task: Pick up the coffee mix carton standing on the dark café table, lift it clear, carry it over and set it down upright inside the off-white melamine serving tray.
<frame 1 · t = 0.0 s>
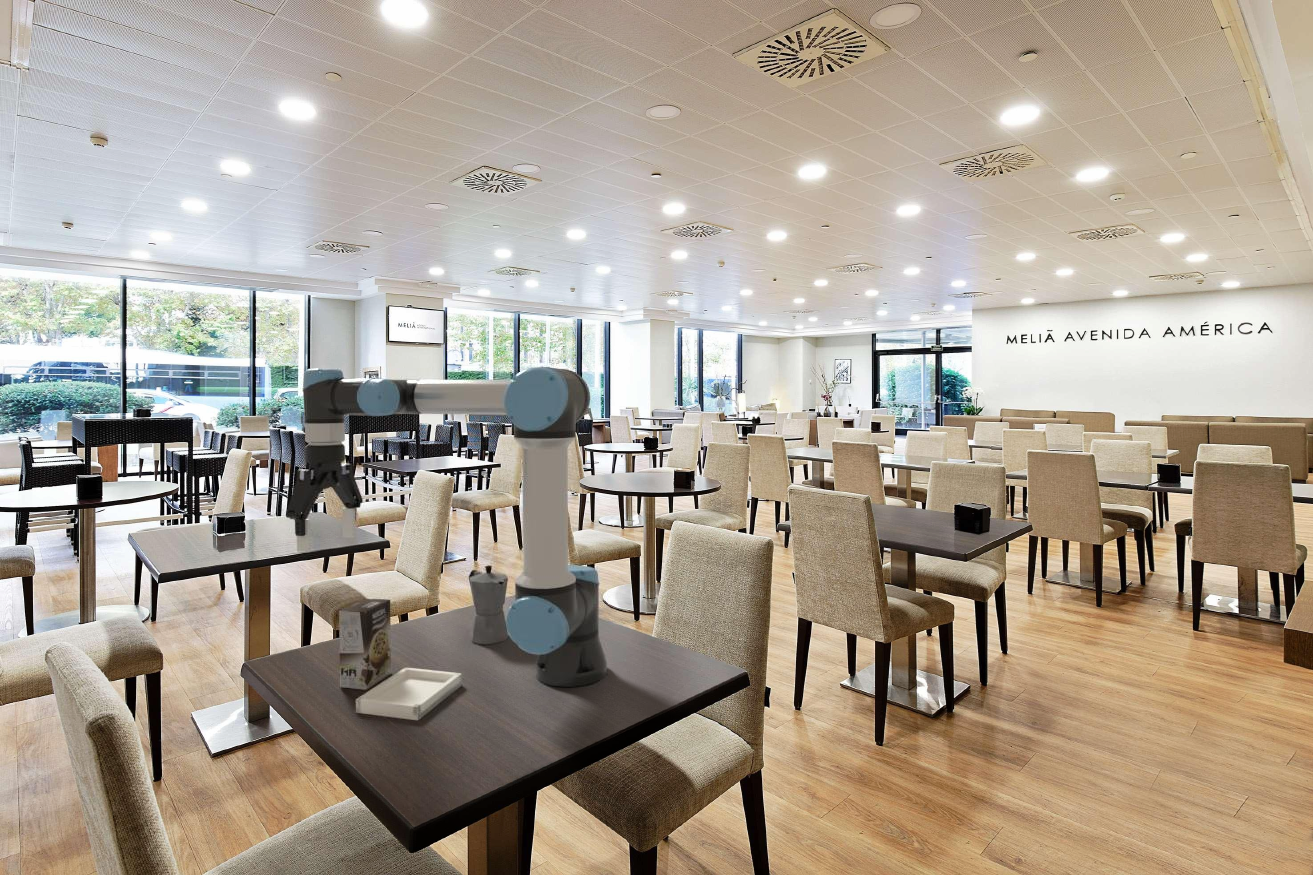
hand: (327, 544, 148), 28 cm above the table, fingers open, 13 cm apart
coffee box: (366, 681, 147), on the table
tray: (411, 698, 138), on the table
coffeepot: (487, 637, 173), on the table
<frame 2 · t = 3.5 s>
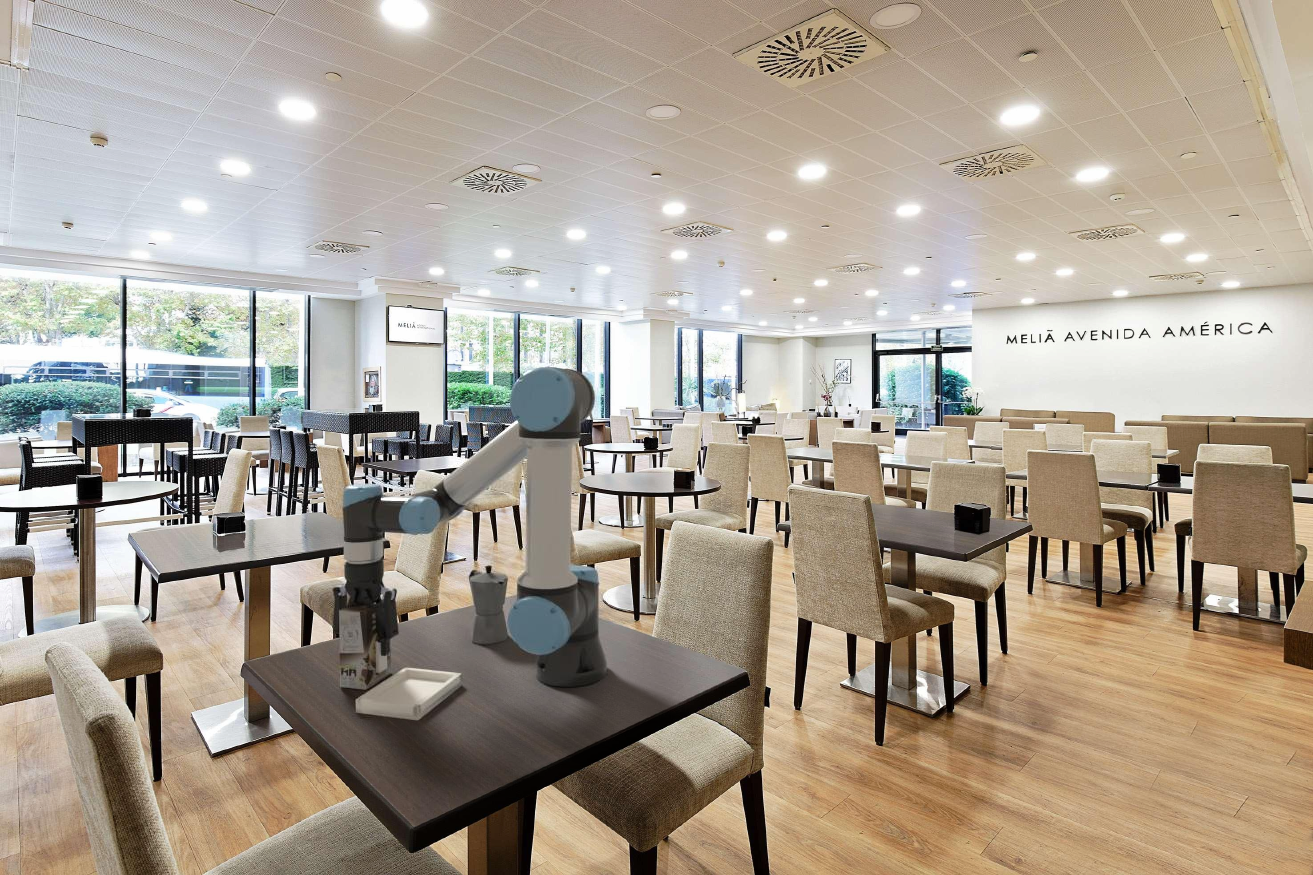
hand: (366, 668, 147), 3 cm above the table, fingers closed on coffee box, 6 cm apart
coffee box: (366, 681, 147), on the table, touching gripper
everything else where it was.
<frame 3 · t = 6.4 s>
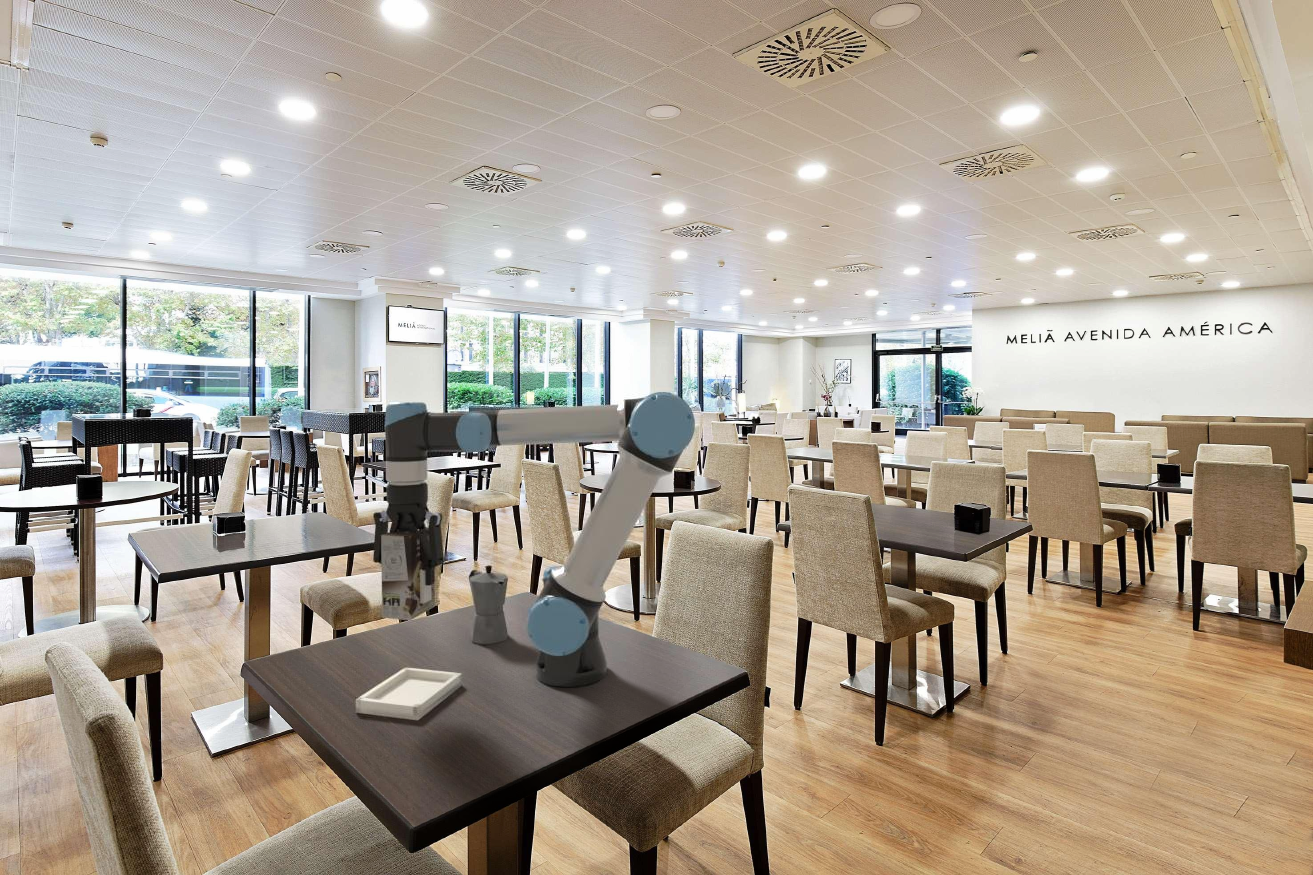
hand: (409, 599, 137), 20 cm above the table, fingers closed on coffee box, 6 cm apart
coffee box: (409, 613, 137), point 17 cm above the table, touching gripper
everything else where it was.
when the fingers open (5 cm above the table, at t = 9.7 s): coffee box drops 1 cm, resting on tray.
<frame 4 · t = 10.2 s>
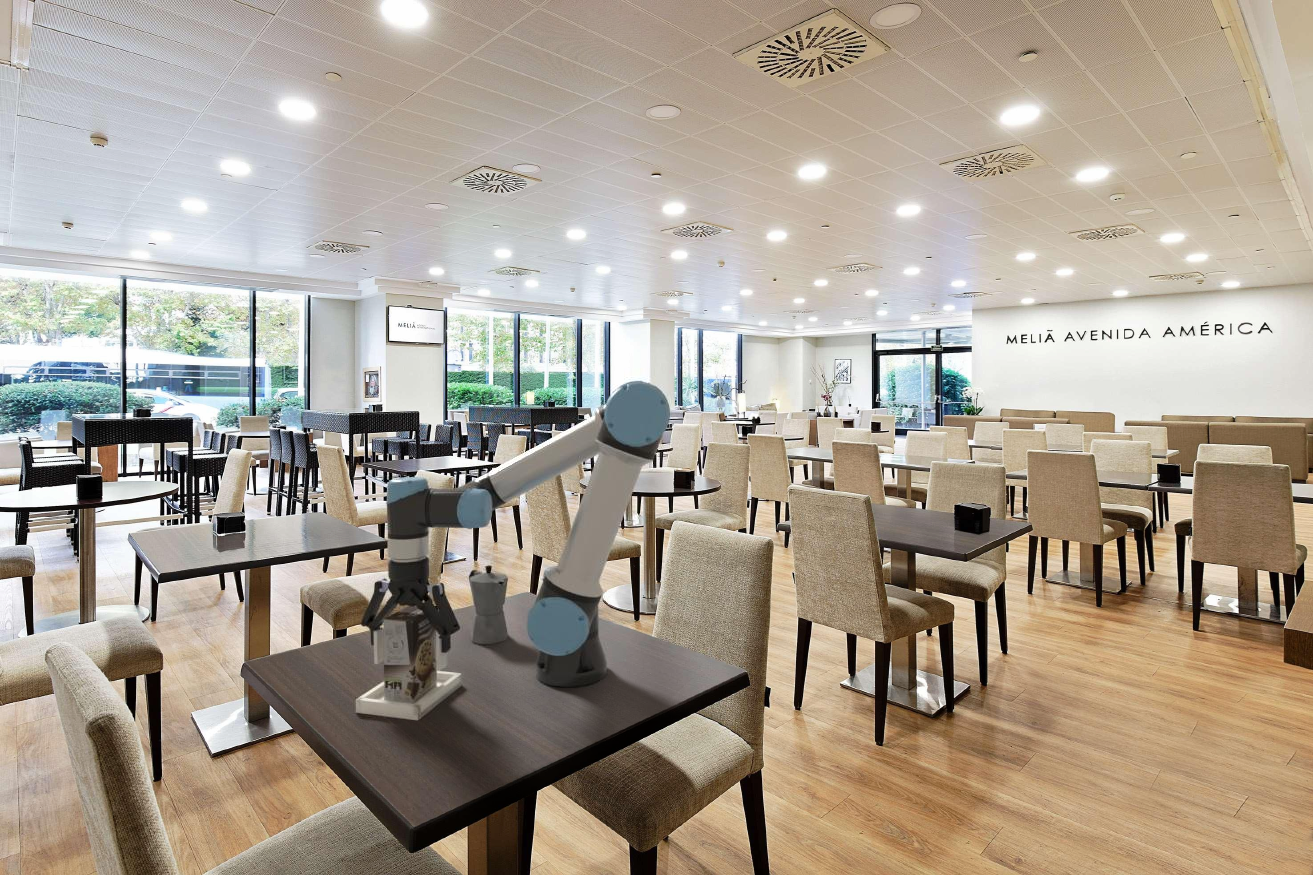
hand: (410, 665, 138), 7 cm above the table, fingers open, 13 cm apart
coffee box: (411, 694, 138), point 1 cm above the table, touching tray
everything else where it was.
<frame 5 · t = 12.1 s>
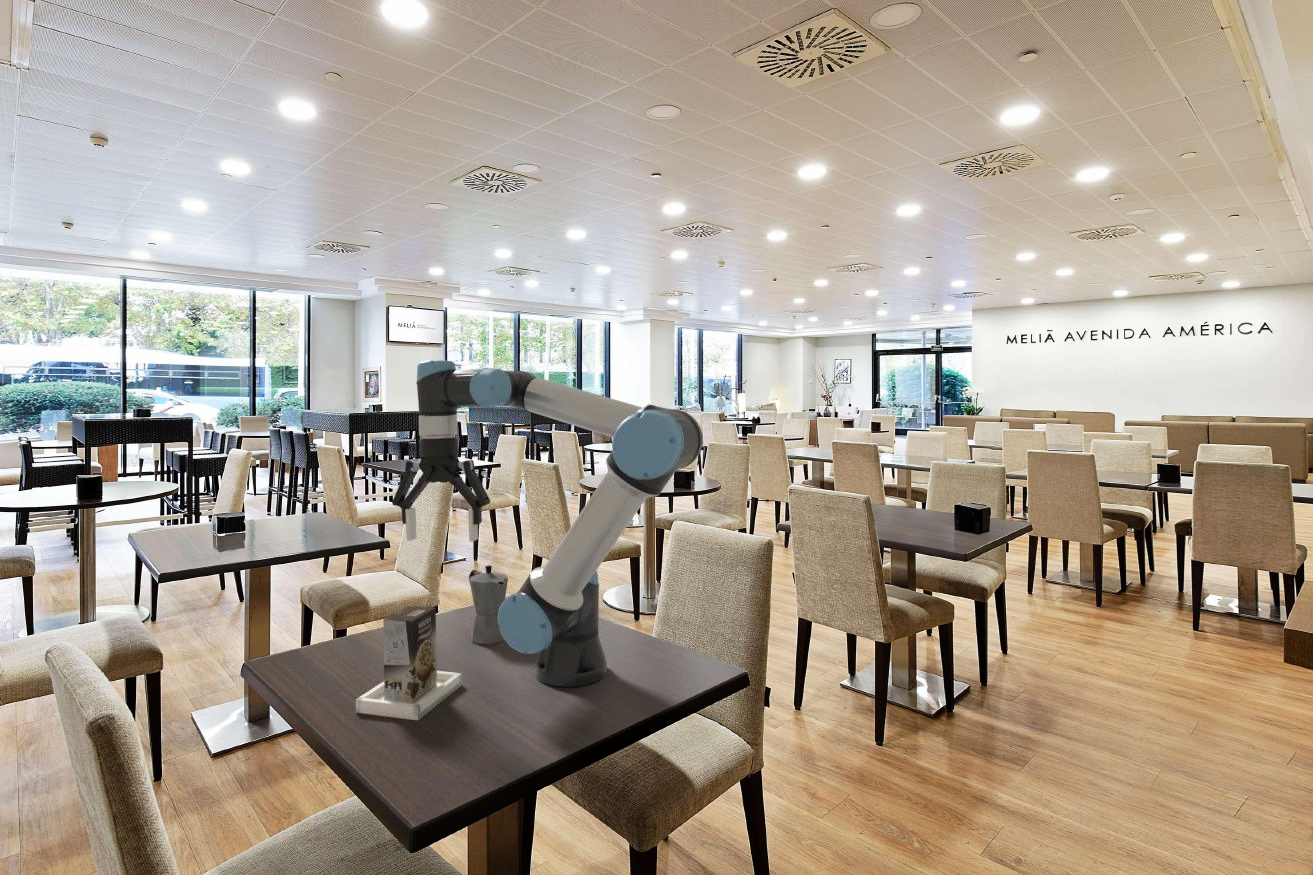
hand: (442, 540, 145), 30 cm above the table, fingers open, 13 cm apart
nothing on the table moved.
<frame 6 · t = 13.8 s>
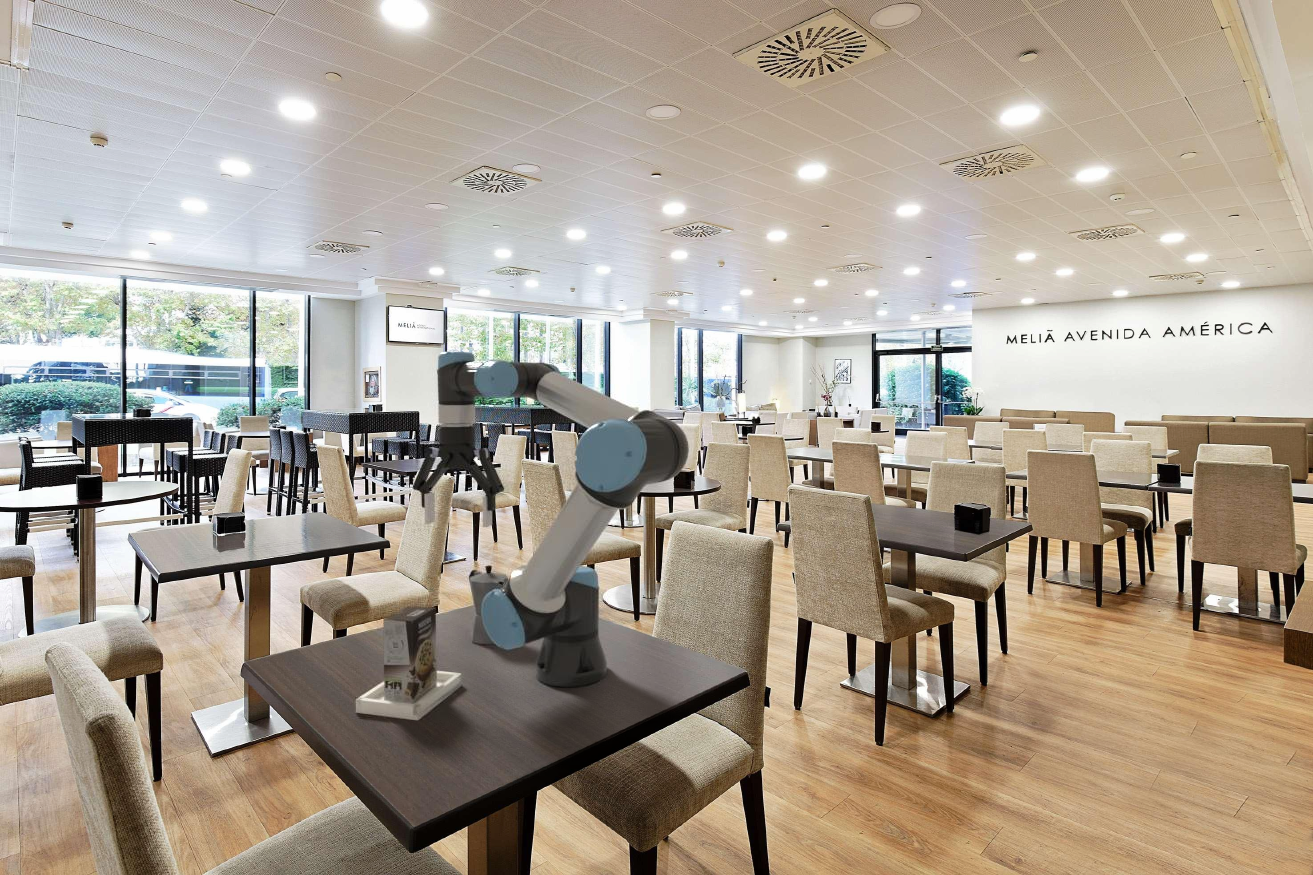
hand: (458, 524, 151), 32 cm above the table, fingers open, 13 cm apart
nothing on the table moved.
at the end: coffee box inside the target area on the tray (0.1 cm from its centre), point 0.8 cm above the tray's base; coffee box tilted 0°; the gripper is holding nothing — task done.
